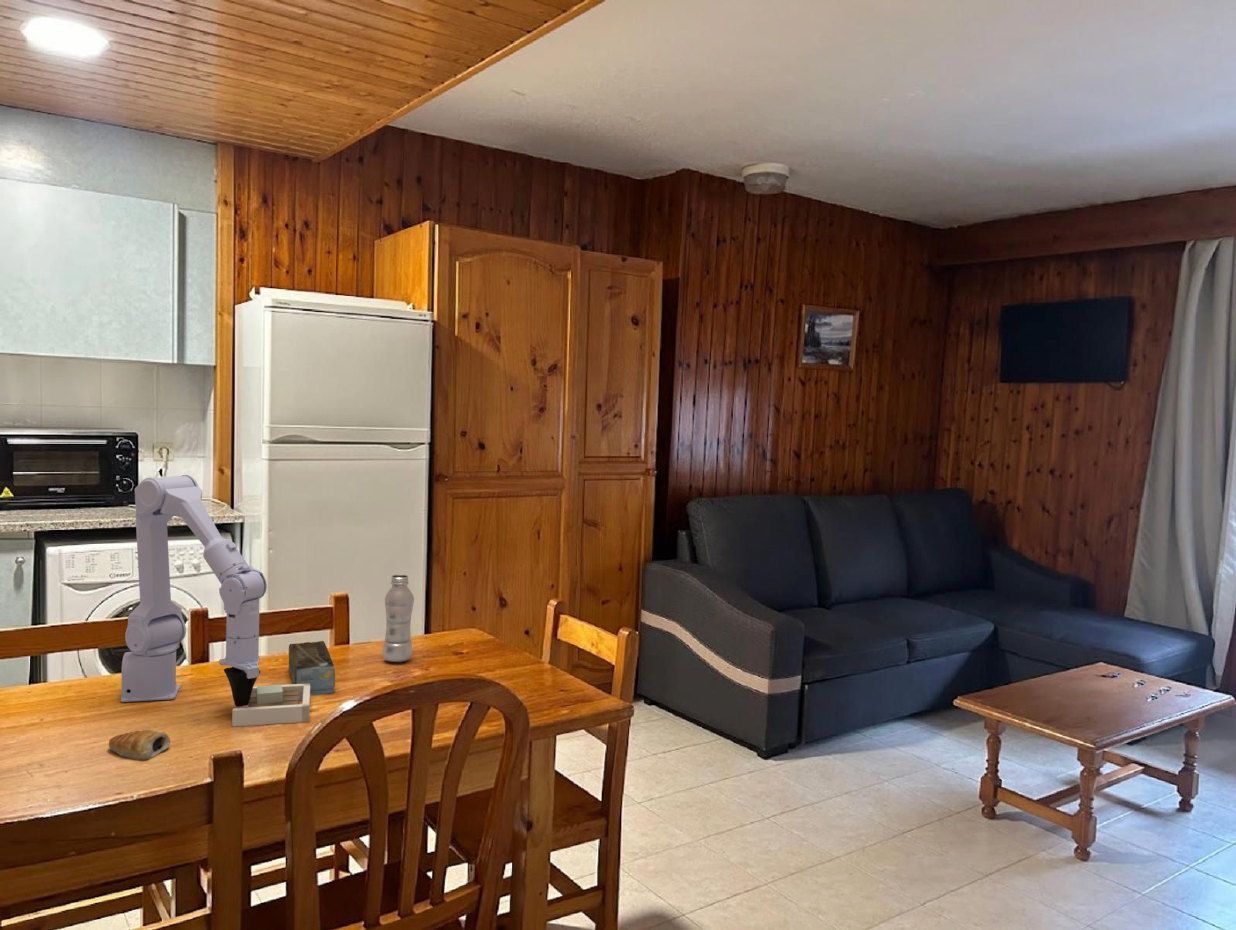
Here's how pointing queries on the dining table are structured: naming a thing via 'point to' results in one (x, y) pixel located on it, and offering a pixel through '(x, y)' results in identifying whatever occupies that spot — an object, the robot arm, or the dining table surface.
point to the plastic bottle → (398, 620)
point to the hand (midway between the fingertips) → (241, 705)
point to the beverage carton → (312, 667)
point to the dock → (275, 710)
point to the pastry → (140, 744)
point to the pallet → (288, 699)
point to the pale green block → (269, 694)
